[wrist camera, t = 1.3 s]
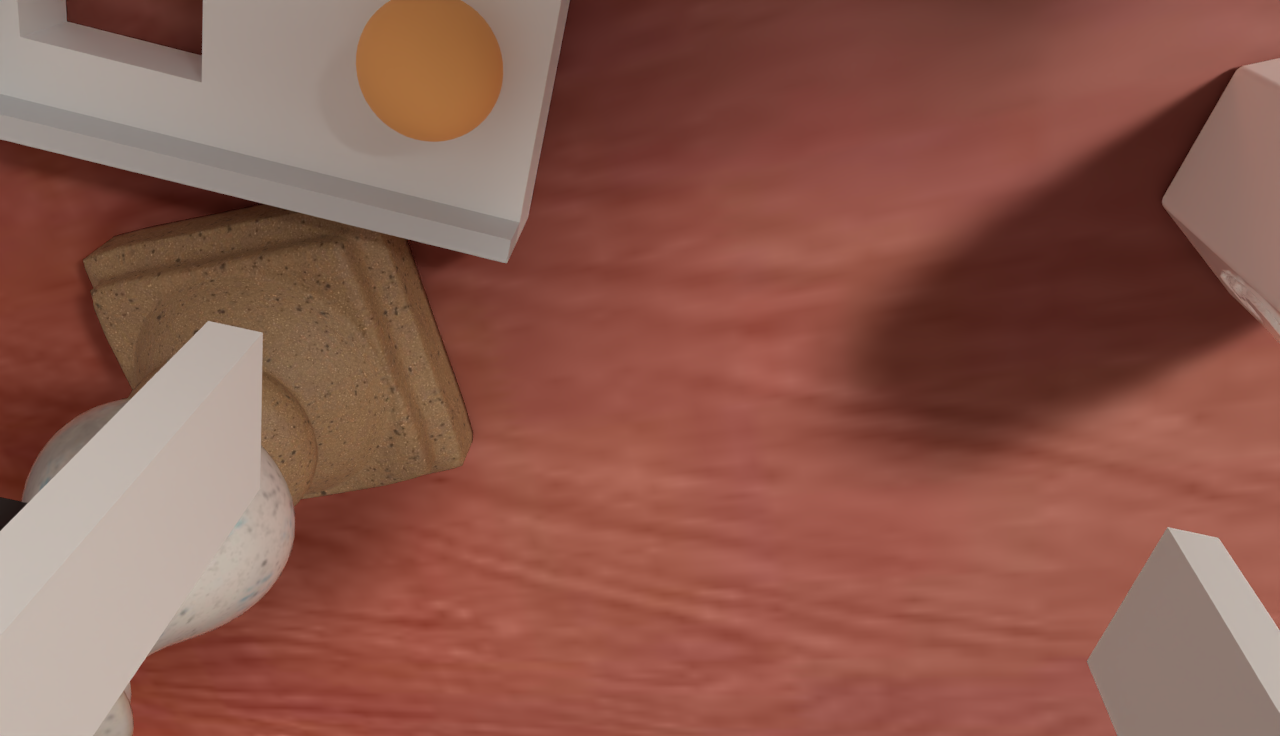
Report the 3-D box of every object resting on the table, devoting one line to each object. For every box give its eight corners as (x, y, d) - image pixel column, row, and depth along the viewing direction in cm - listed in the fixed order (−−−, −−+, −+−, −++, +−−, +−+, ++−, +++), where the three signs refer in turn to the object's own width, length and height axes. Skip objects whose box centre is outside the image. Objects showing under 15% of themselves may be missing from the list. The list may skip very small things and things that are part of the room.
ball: (387, -36, 29) (342, -13, 25) (525, 0, 29) (499, 27, 25) (373, 101, 31) (329, 140, 27) (502, 134, 31) (475, 176, 27)
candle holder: (479, 442, 40) (211, 1152, 19) (226, 481, 41) (-274, 1167, 21) (385, 178, 34) (-125, 750, 14) (101, 236, 36) (-730, 817, 15)
